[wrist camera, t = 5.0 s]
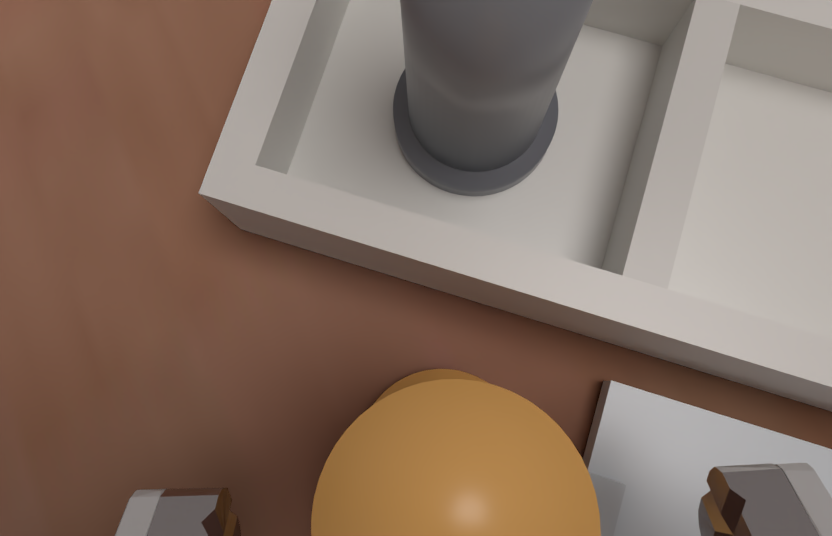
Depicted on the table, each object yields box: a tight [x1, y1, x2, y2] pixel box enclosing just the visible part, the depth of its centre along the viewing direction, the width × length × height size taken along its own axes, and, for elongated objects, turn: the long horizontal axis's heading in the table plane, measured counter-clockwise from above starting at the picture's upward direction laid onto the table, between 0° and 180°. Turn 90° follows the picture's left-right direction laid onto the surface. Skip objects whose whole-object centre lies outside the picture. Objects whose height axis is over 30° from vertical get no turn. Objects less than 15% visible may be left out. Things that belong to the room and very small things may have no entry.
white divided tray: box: [199, 0, 832, 412], centre depth 17 cm, size 20×9×4 cm, turn 72°
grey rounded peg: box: [393, 0, 593, 196], centre depth 13 cm, size 4×4×10 cm
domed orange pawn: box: [311, 369, 601, 536], centre depth 13 cm, size 4×4×10 cm
